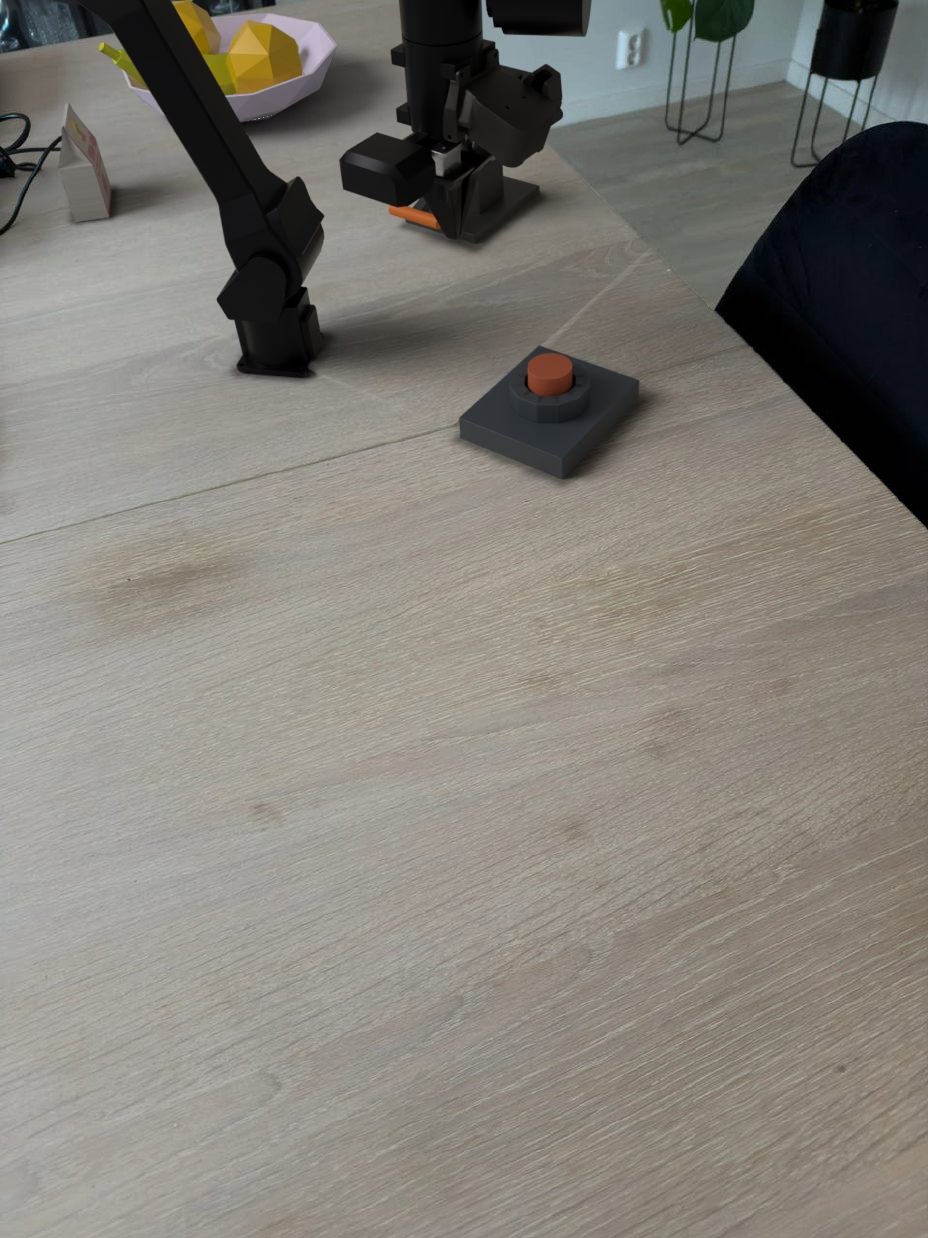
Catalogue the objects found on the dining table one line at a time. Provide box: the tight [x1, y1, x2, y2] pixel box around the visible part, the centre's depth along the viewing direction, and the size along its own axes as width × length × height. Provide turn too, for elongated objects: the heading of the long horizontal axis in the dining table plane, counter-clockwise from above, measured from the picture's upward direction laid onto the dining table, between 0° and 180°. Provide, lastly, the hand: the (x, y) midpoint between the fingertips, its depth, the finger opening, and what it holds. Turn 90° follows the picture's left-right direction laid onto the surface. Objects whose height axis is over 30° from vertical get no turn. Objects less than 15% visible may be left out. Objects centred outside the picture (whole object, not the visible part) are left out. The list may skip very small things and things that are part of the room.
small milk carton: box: [57, 101, 113, 223], centre depth 119 cm, size 4×7×10 cm, turn 10°
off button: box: [528, 353, 573, 396], centre depth 88 cm, size 4×4×2 cm
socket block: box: [458, 344, 640, 480], centre depth 90 cm, size 12×10×4 cm
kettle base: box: [404, 157, 541, 245], centre depth 113 cm, size 12×9×9 cm
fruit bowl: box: [97, 0, 338, 123], centre depth 135 cm, size 28×27×11 cm
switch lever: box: [388, 197, 441, 229], centre depth 110 cm, size 12×6×2 cm, turn 144°
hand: (454, 236), depth 88 cm, fingers closed
